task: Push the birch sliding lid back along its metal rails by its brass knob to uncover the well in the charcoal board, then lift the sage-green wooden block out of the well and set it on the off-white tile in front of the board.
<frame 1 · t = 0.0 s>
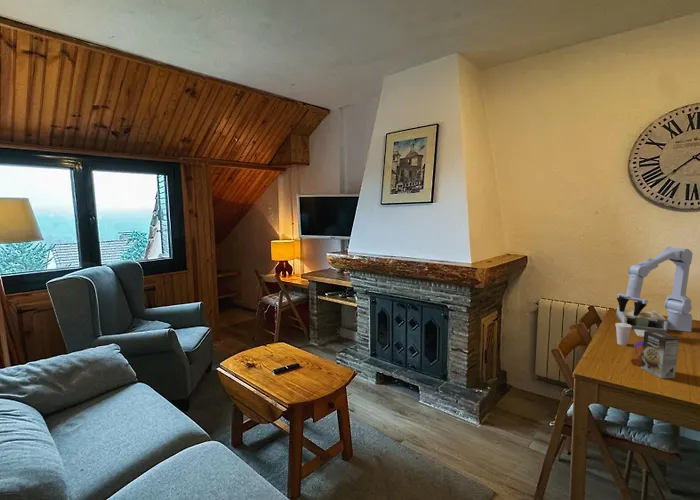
hand: (628, 313, 185), 11 cm above the table, tool pointing down, fingers open, 7 cm apart
grey cardboard box: (657, 373, 143), on the table
smoothie: (622, 344, 173), on the table
lid: (642, 312, 197), point 7 cm above the table, slide at 0.0 cm
tile: (648, 334, 184), on the table
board: (641, 325, 198), on the table
kendama: (639, 359, 157), on the table
block: (641, 325, 198), resting in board
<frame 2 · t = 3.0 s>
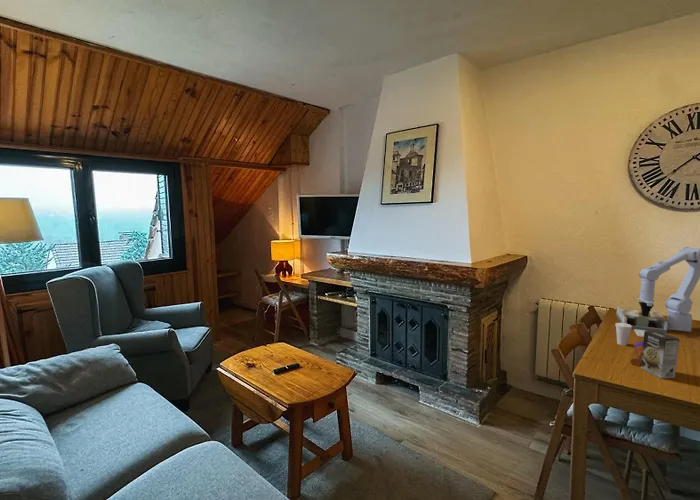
hand: (645, 315, 192), 7 cm above the table, tool pointing down, fingers closed
lid: (641, 312, 198), point 7 cm above the table, slide at 0.8 cm, touching gripper
everything else where it was.
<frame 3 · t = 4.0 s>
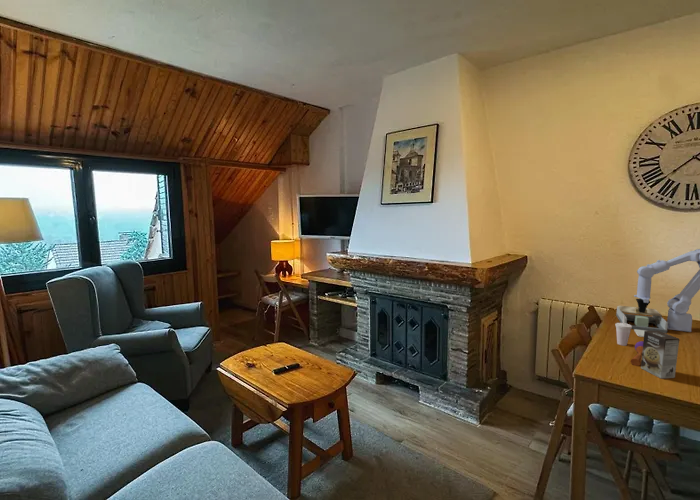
hand: (641, 312, 198), 7 cm above the table, tool pointing down, fingers closed
lid: (638, 309, 205), point 7 cm above the table, slide at 8.1 cm, touching gripper
everything else where it was.
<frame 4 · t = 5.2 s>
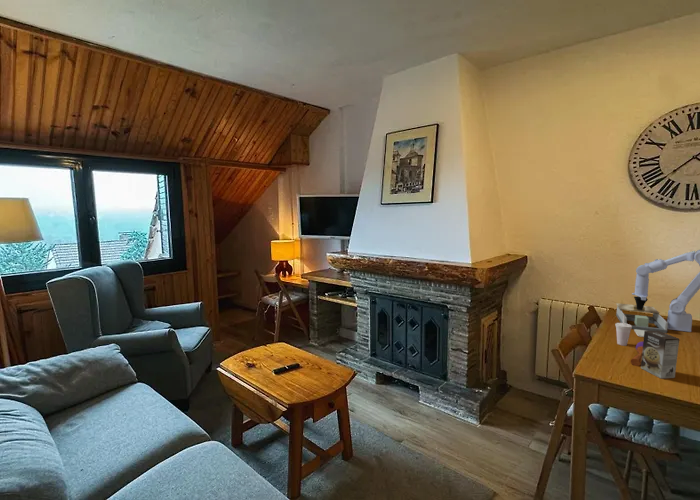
hand: (639, 309, 203), 7 cm above the table, tool pointing down, fingers closed
lid: (636, 306, 209), point 7 cm above the table, slide at 13.5 cm, touching gripper
everything else where it was.
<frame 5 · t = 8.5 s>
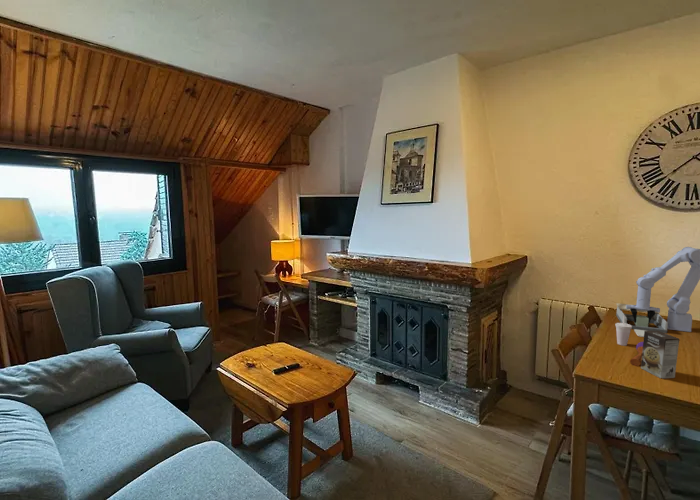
hand: (641, 322, 198), 1 cm above the table, tool pointing down, fingers closed on block, 5 cm apart
lid: (636, 306, 209), point 7 cm above the table, slide at 13.5 cm
block: (641, 325, 198), resting in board, touching gripper
everything else where it was.
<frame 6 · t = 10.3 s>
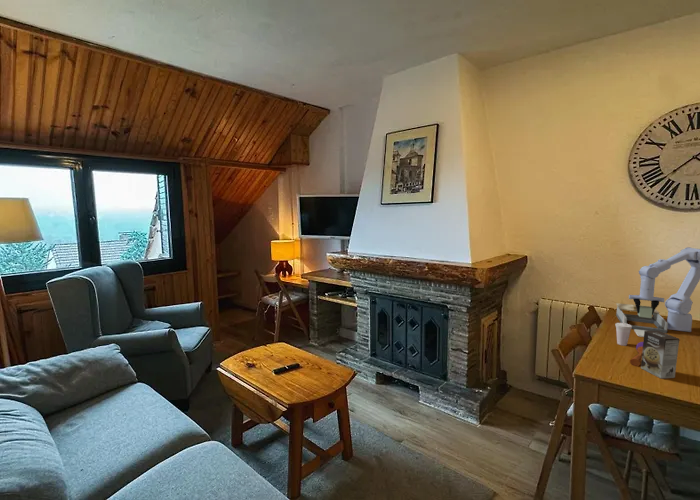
hand: (644, 313, 192), 8 cm above the table, tool pointing down, fingers closed on block, 5 cm apart
block: (644, 316, 193), point 7 cm above the table, touching gripper
everything else where it was.
when the fingers open (3 cm above the table, at t = 12.4 s): block drops 1 cm, resting on tile.
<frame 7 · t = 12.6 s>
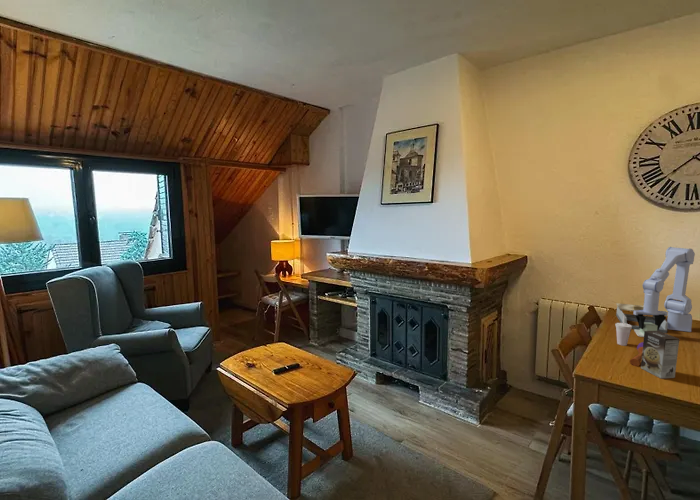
hand: (648, 328, 184), 3 cm above the table, tool pointing down, fingers open, 7 cm apart
block: (647, 333, 185), point 1 cm above the table, touching tile
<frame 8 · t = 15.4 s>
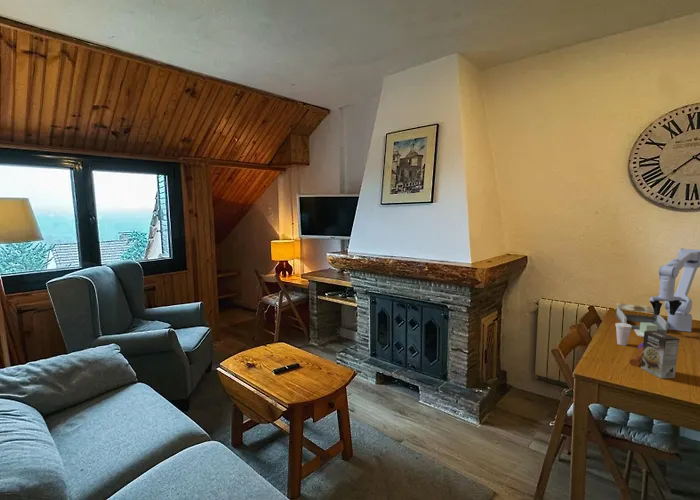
hand: (664, 314, 185), 10 cm above the table, tool pointing down, fingers open, 7 cm apart
at the end: lid slide at 13.5 cm; block inside the target area (0.3 cm from its centre), point 0.6 cm above the table; block tilted 0° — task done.
